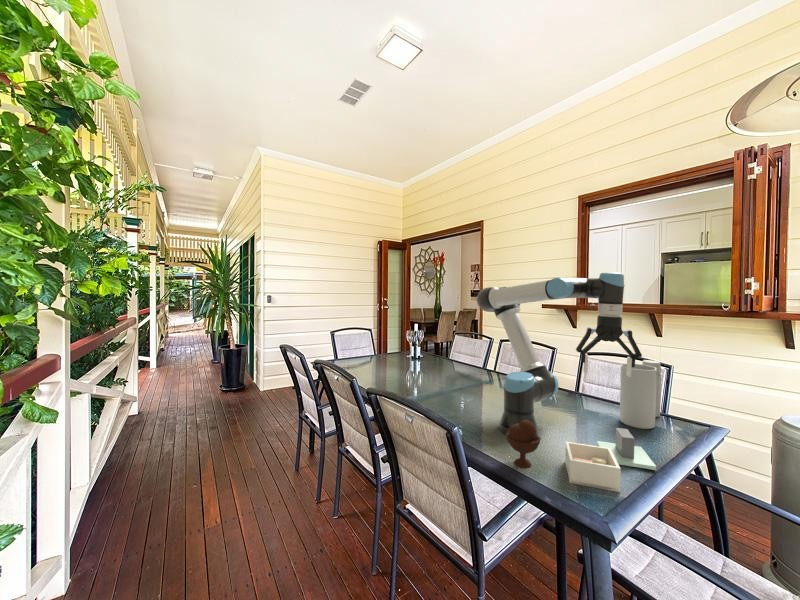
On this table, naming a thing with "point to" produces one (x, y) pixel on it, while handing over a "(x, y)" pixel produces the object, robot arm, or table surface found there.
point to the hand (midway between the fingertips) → (606, 373)
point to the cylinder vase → (638, 396)
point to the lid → (628, 451)
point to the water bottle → (658, 383)
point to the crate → (592, 466)
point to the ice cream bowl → (523, 441)
